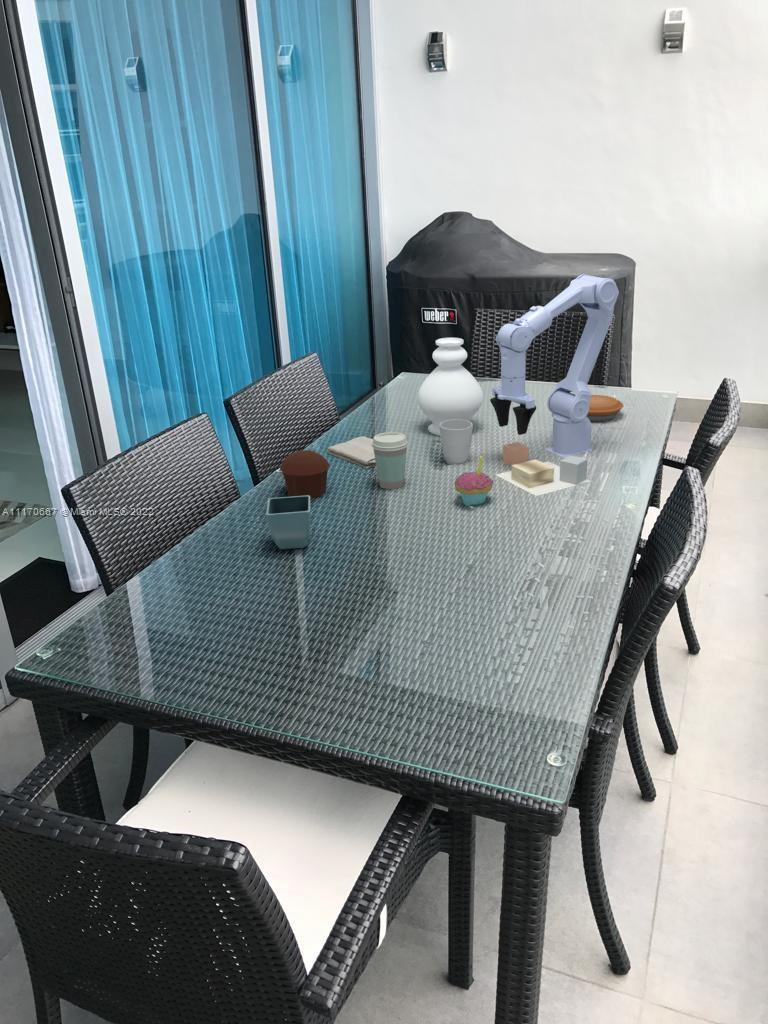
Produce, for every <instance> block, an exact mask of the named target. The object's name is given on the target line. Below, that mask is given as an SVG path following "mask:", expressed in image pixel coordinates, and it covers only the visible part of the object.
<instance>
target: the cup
mask: <svg viewBox="0 0 768 1024" xmlns="http://www.w3.org/2000/svg"><path fill="white" fill-rule="evenodd" d="M472 425H473V422H472V421H471V420H470V421H467V420H460V419H454V420H447V421H443V422H441V423H440V435H441V436H440V442H441V443H440V444H441V447H442V452H443V456H444V460H445V462H446V464H447V465H449V466H451V465H458V464H464V463H466V462H467V461H468V458H469V455H470V453H471V452H470V451H471V445H472V438H473V437H472V435H473V430H472Z"/></svg>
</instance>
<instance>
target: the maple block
mask: <svg viewBox="0 0 768 1024" xmlns="http://www.w3.org/2000/svg"><path fill="white" fill-rule="evenodd" d="M511 471H512V473H511V479H512V480H514V481H516V482H518V483H520V484H522V485H524V486H526V487H528V488H533V487H537V486H540V485H544V484H548V483H552V482H554V468H553V467H551V466H549V465H547V464H544V462H542V461H540V460H538V459H531V460H528V461H527V462H523V463H519V464H515V465H512V466H511Z"/></svg>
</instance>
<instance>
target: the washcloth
mask: <svg viewBox="0 0 768 1024" xmlns="http://www.w3.org/2000/svg"><path fill="white" fill-rule="evenodd" d="M373 439H374V438H371V437H370V438H369V437H366V436H365V435H364V436H362V435H361V436H357V437H354V438H352V439H350V440H348V441H345V442H341V443H340V442H339V443H337V444H334V445H331V446H329V447H327V451H326V453H328V454H329V455H331V456H334V457H336V458H339V459H341V460H344V461H347V462H350V463H352V464H355V465H357V466H359V467H361V468H363V469H367V470H369V469H370V468H372V469H373V468H377V467H376V461H375V455H374V449H373V447H372V442H373Z"/></svg>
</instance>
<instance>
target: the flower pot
mask: <svg viewBox="0 0 768 1024" xmlns="http://www.w3.org/2000/svg"><path fill="white" fill-rule="evenodd" d="M265 512H266V515H265V516H266V518H267V522H268V528H269V533H270V535H271V538H272V540H273V542H274V544H275V545H276V546H277V547H278V548H279V550H287V549H288V550H290V549H302V548H305V547H306V545H307V543H308V541H309V538H310V533H311V500H310V496H309V495H306V496H293V497H290V496H283V497H280V496H279V497H271V498H268V499H267V505H266V511H265Z"/></svg>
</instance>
